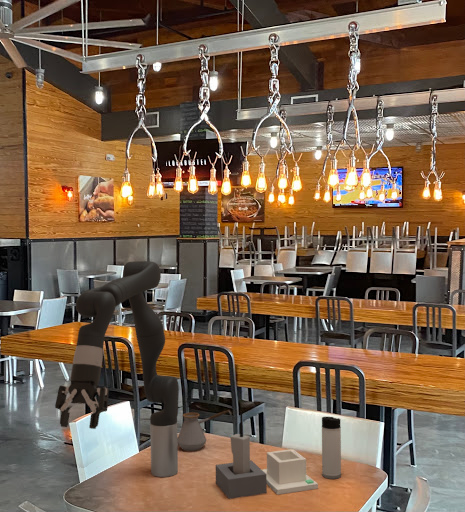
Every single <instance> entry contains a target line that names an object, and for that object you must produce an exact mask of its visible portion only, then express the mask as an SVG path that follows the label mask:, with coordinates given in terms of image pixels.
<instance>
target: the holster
mask: <svg viewBox="0 0 465 512" xmlns="http://www.w3.org/2000/svg"><path fill="white" fill-rule="evenodd" d="M215 484H216V485H217V487H218V488H219V489H220V490H221V491H222V492H223V494H224V495H225V497H226V498H227V499H228V500H230V499H236V498H237V499H238V498H243V497H250V496H257V495H263V494H267V488H268V486H267V484H266V473H265V472H263V471H262V469H261V468H260V466H258V465H257V464H256V463H255V461H253V460H251V459H250V473H244V474H237V475H234V474H233V462H228V463H227V462H226V463H219V464H215Z"/></svg>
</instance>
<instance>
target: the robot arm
mask: <svg viewBox="0 0 465 512" xmlns="http://www.w3.org/2000/svg"><path fill="white" fill-rule="evenodd" d="M122 270H123V272H122V277H120V278H116V279H113V280H111V281H109V282H108V283H105V284H104V285H102V286H99V287H94V288H91V289H90V288H89V289H87V290H85V291H84V292H82V293H80V294H79V295H78V297H77V299H76V302H75V309H76V311H77V313H78V314H79V315H80V316H81V317H83V318H93V321H92V322H90V323H87V324H83V325H81V326H80V327H79V330H78V334H77V340H76V341H77V342H76V346H75V350H74V355H73V359H72V365H71V366H72V367H71V373H70V379H69V380H70V385H69V386H66V385H59V386H58V391H57V395H56V400H55V405H54V408H55V409H57V410H59V411H60V417H59V419H60V420H59V425H60V426H61V427H62V428H68V426H69V420H70V411H71V409H73V407H75V406H76V405H77V404H80V405H83V404H85V405H87V406H88V407H89V408H90V411H91V413H90V417H89V419H90V420H89V429H92V430H96V429H97V427H98V426H99V421H100V415H101V413H104V412H107V411H108V404H109V392H110V390H109V388H108V387H103V386H100V387H99V384H100V380H101V374H102V373H101V372H102V365H103V358H104V357H103V353H104V350H103V349H104V343H105V337H106V333H107V330H108V328H109V325H110V323H111V321H112V318H113V316H114V313H115V311H116V307H118V306H119V305H121V304H122V303H123V302H125V301H127V300H129V305H130V308H131V312H132V318H133V322H134V323H133V325H134V328H135V330H134V331H135V335H136V341H137V346H138V349H139V356H140V360H141V369H142V378H143V388H144V389H143V390H144V395H145V398H146V400H147V401H148V402H150V403H154V404H164V406H163V409H162V410H159V411H155V412H153V413H152V414H151V415H150V418H149V420H150V421H149V422H150V423H149V426H150V427H149V428H150V432H149V433H150V474H151V475H152V476H155V477H158V478H165V477H166V478H169V477H173V476H175V475H176V474H178V472H179V456H178V455H179V454H178V453H179V452H178V450H179V449H178V448H179V445H178V439H177V438H178V415H179V393H180V392H179V391H180V386H179V385H180V384H179V381H178V379H177V378H176V377H175V376H171V375H170V376H169V375H159V374H158V372H157V363H158V359H159V358H160V355H161V354H162V352H163V350H164V347H165V344H166V336H165V330H164V324H163V322H162V319H161V318H160V317H159V315H158V314H157V313H156V312H155V311H154V309H153V308H152V307H151V306H150V305H149V303H148V302H147V301H146V298H145V297H144V294H143V293H144V292H147V291H150V290H153V289H156V288H157V287H158V286H159V284H160V282H161V276H162V275H161V273H162V272H161V268H160V266H159V265H158V263H157V262H155V261H150V260H141V261H138V260H137V261H128V262H126V263H125V264H124V265H123V269H122ZM68 394H69V396H68ZM97 395H98V397H99V398H98V400H97V398H96V396H97ZM67 396H68V397H67Z"/></svg>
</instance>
